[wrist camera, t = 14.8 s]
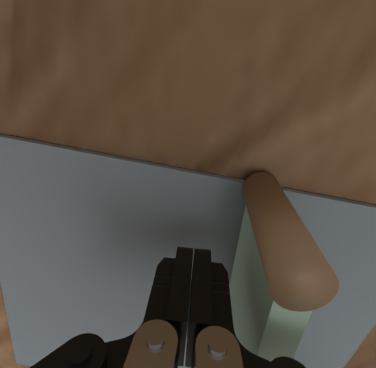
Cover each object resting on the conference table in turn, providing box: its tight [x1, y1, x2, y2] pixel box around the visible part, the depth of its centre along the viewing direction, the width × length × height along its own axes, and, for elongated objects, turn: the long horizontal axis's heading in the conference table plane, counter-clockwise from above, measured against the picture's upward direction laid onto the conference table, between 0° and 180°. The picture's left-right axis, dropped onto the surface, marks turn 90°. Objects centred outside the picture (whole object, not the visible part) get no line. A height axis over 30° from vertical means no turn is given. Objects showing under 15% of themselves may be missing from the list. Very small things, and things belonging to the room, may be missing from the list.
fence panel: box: [229, 172, 339, 362], centre depth 13 cm, size 16×2×6 cm, turn 175°
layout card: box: [0, 134, 376, 368], centre depth 17 cm, size 25×20×1 cm
